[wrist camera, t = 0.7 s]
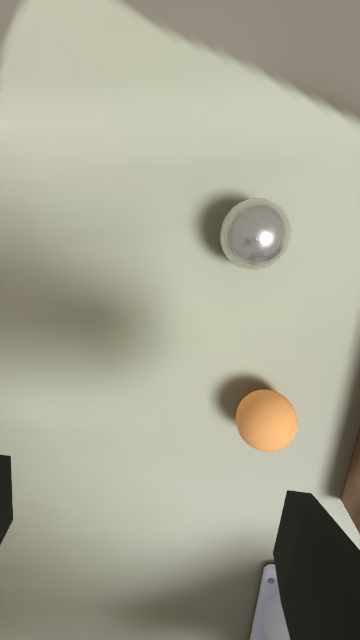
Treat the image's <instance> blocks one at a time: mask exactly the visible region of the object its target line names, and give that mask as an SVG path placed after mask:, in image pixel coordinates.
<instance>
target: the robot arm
mask: <svg viewBox="0 0 360 640" xmlns="http://www.w3.org/2000/svg"><path fill="white" fill-rule="evenodd" d="M12 521H13V507H12V481H11V456H6V455H0V544H1V543H2V541H3V539H4V537H5V535H6V533H7V531H8V529H9V527H10V525H11V523H12ZM273 556H274V562H275V564H269V565H267V566H265V568H264V571H263V576H262V581H261V586H260V591H259V596H258V601H257V606H256V611H255V616H254V621H253V626H252V631H251V636H250V640H360V550H359V549H358V548H357V546H356V545H355V544H354V543H353V542H352V541H351V539H350V538H349V537H348V536H347V535H346V534H345V532H344V531H343V530H342V529H341V528H340V526H339V525H338V524H337V523H336V522H335V521H334V519H333V518H332V517H331V516H330V515H329V513H328V512H327V511H326V510H325V509H324V507H323V506H322V505H321V504H320V503H319V502H318V500H317V499H316V498H315V497H314V496H313V495H312V494H311V493H304V492H296V491H288V490H287V494H286V498H285V503H284V507H283V511H282V516H281V520H280V525H279V529H278V534H277V538H276V542H275V547H274V551H273Z"/></svg>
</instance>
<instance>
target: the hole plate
mask: <svg viewBox="0 0 360 640" xmlns="http://www.w3.org/2000/svg"><path fill="white" fill-rule="evenodd" d="M341 501H342V502H343V504H344V506H345V508H346V510H347V511H348V513H349V515H350V517H351V519H352V521H353V522H354V524H355V526H356V528H357V530H358V531H359V533H360V430H359V433H358V437H357V441H356V445H355V449H354V453H353V456H352V460H351V464H350V468H349V472H348V475H347V479H346V483H345V487H344V491H343V495H342V498H341Z"/></svg>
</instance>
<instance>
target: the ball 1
mask: <svg viewBox="0 0 360 640" xmlns="http://www.w3.org/2000/svg"><path fill="white" fill-rule="evenodd" d="M290 236H291V228H290V223H289V219H288V217H287V215H286V213H285V212H284V211H283V209H282V208H281V207H280V206H278V205H277V204H275V203H274V202H272V201H270V200H267V199H262V198H253V199H248V200H245V201H242V202H240V203H239V204H237V205H236V206H234V207H233V208H232V209H231V210H230V211H229V212H228V213H227V215H226V216H225V218H224V220H223V222H222V225H221V230H220V242H221V247H222V249H223V251H224V253H225V255H226V256H227V258H228V259H229V260H230V261H231V262H232V263H234V264H235V265H237V266H239V267H241V268H244V269H250V270H256V269H262V268H265V267H268V266H270V265H272V264H273V263H275V262H276V261H277V260H278V259H280V257H281V256H282V255H283V254H284V252H285V251H286V249H287V247H288V244H289V241H290Z"/></svg>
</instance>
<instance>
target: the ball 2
mask: <svg viewBox="0 0 360 640" xmlns="http://www.w3.org/2000/svg"><path fill="white" fill-rule="evenodd" d="M236 425H237V428H238V431H239V433H240V435H241V437H242V438H243V439H244V441H245V442H246V443H247V444H249V445H250V446H251V447H253V448H255V449H257V450H260V451H265V452H274V451H278V450H281V449H283V448H284V447H286V446H287V445H288V444H289V443H290V442H291V441H292V440H293V438H294V436H295V434H296V431H297V416H296V412H295V410H294V408H293V406H292V404H291V403H290V402H289V401H288V400H287V399H286V398H285V397H284V396H283V395H281V394H280V393H277V392H275V391H272V390H256V391H253V392H251V393H249V394H248V395H247V396H245V397H244V398H243V399H242V401H241V402H240V404H239V406H238V408H237V412H236Z"/></svg>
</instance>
